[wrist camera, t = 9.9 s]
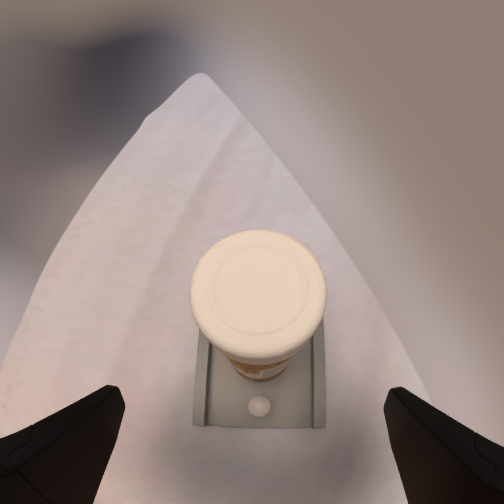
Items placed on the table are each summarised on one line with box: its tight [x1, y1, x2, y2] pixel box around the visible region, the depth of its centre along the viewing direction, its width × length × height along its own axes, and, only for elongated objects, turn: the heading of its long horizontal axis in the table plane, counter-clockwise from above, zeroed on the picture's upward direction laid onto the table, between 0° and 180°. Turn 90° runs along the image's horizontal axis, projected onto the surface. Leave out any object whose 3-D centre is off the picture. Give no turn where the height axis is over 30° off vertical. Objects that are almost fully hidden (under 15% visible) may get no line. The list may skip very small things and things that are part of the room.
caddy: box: [193, 317, 325, 429], centre depth 19 cm, size 12×9×4 cm
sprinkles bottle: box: [189, 230, 327, 382], centre depth 15 cm, size 5×5×13 cm
